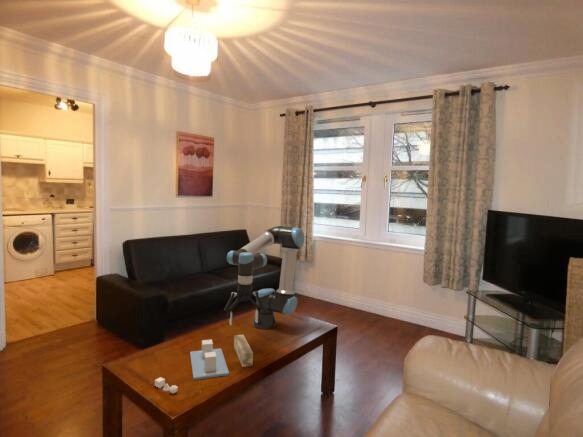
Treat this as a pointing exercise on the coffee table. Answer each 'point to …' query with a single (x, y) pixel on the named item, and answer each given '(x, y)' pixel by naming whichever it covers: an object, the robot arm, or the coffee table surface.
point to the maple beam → (243, 350)
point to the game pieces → (161, 382)
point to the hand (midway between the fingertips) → (243, 323)
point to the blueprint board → (200, 365)
